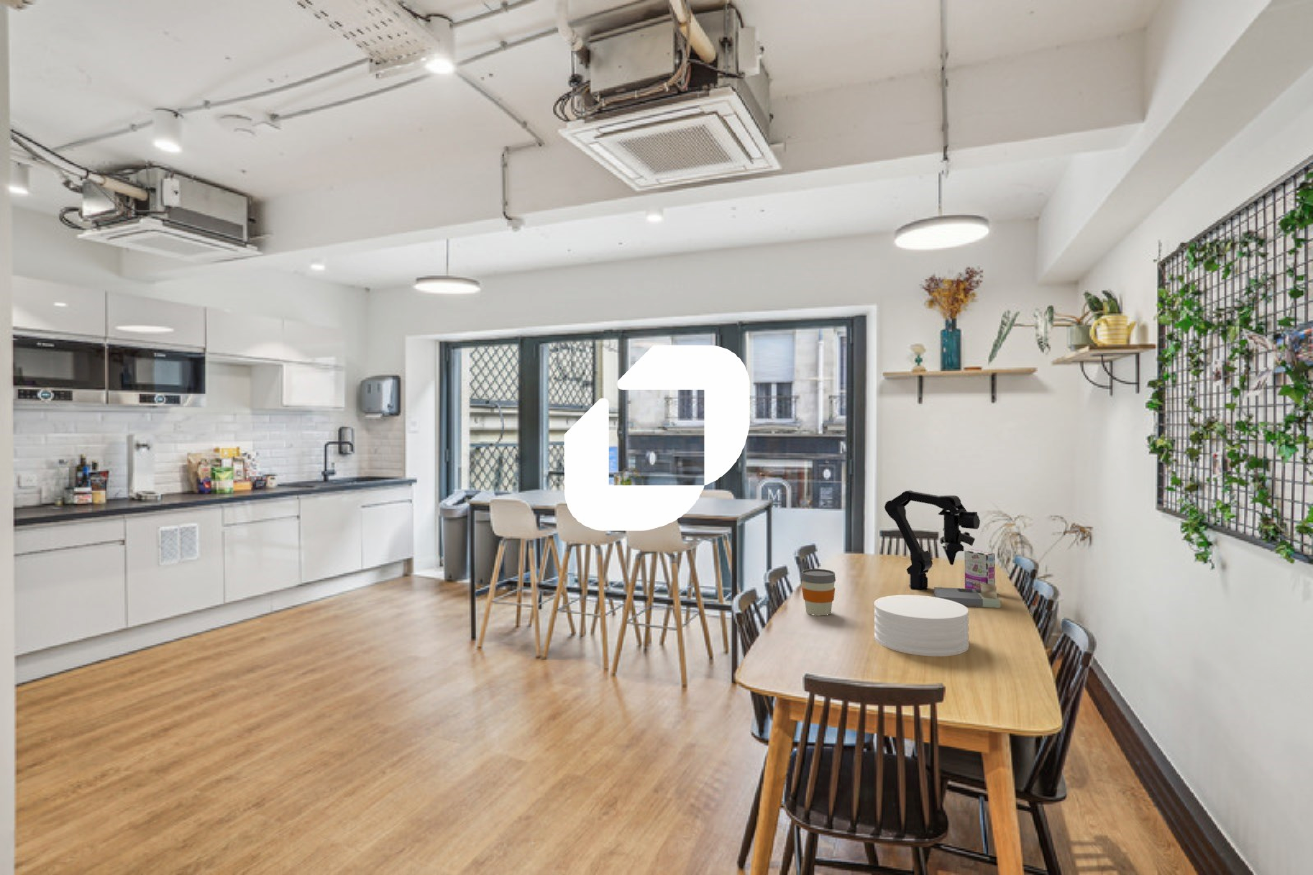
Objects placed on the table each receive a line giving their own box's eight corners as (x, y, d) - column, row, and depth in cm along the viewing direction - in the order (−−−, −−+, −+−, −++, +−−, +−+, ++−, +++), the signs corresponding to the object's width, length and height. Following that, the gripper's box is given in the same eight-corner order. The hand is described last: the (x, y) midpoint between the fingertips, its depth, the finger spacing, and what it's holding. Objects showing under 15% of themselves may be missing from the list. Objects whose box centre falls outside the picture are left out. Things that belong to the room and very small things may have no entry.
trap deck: (940, 604, 252) (940, 596, 252) (934, 594, 268) (934, 587, 268) (1000, 607, 247) (1000, 600, 247) (990, 597, 262) (990, 589, 262)
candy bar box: (995, 593, 268) (995, 553, 268) (987, 594, 266) (987, 554, 266) (972, 587, 279) (972, 548, 278) (964, 588, 276) (963, 549, 276)
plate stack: (910, 661, 193) (910, 622, 193) (857, 632, 220) (857, 598, 220) (989, 651, 201) (989, 613, 200) (928, 625, 228) (928, 592, 227)
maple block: (983, 597, 250) (983, 586, 250) (981, 594, 254) (980, 583, 254) (996, 598, 249) (996, 586, 249) (993, 595, 253) (993, 583, 253)
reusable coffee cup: (832, 608, 249) (832, 568, 249) (838, 617, 237) (838, 576, 237) (799, 607, 251) (798, 568, 251) (803, 617, 238) (802, 576, 238)
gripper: (977, 530, 256) (978, 570, 257) (968, 523, 274) (968, 561, 275) (947, 529, 259) (947, 569, 259) (939, 523, 277) (940, 560, 277)
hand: (951, 564), depth 268 cm, fingers closed
